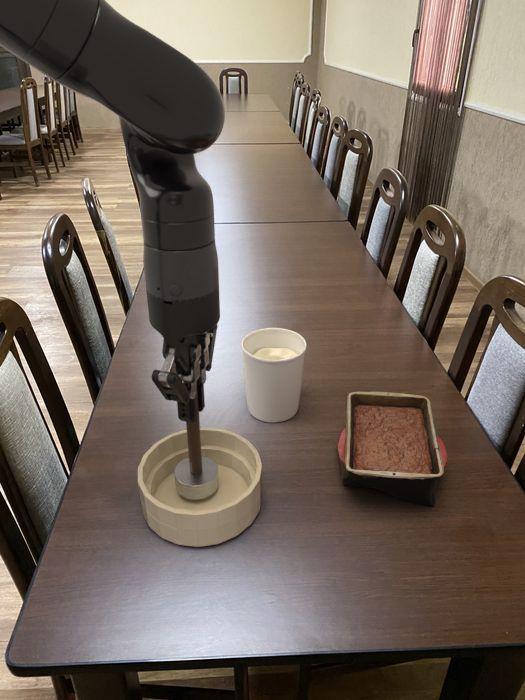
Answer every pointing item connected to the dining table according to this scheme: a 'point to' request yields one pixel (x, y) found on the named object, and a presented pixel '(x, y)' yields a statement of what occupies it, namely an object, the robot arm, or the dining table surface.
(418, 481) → the baking dish
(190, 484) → the rod with silver disc
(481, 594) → the dining table surface
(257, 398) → the white cup
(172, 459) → the bowl
